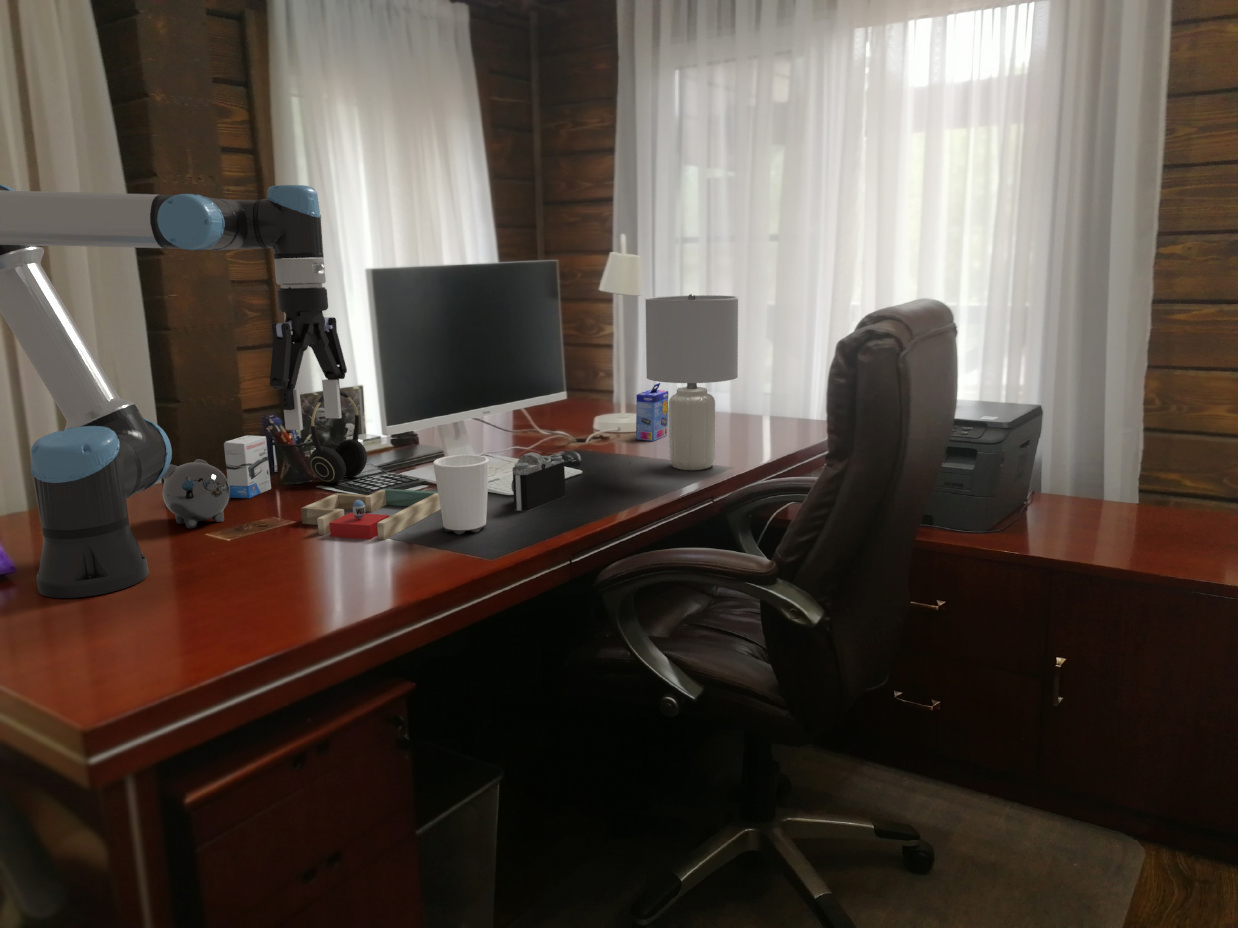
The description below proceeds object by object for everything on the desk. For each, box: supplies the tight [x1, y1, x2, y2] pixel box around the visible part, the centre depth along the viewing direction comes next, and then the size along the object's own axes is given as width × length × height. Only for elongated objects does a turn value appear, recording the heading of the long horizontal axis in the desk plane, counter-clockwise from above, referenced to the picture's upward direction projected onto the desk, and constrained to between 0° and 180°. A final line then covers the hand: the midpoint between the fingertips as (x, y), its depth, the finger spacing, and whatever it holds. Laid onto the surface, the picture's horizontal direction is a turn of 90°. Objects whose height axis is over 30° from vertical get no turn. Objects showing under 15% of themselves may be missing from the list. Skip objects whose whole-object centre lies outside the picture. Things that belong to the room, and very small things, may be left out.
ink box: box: [223, 435, 272, 499], centre depth 199 cm, size 8×5×12 cm, turn 168°
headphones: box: [309, 390, 368, 484], centre depth 208 cm, size 9×15×20 cm, turn 155°
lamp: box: [645, 293, 739, 471], centre depth 212 cm, size 20×20×39 cm
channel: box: [300, 488, 441, 541], centre depth 178 cm, size 22×21×3 cm
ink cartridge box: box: [635, 382, 669, 442], centre depth 249 cm, size 10×6×14 cm, turn 154°
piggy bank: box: [161, 458, 230, 530], centre depth 178 cm, size 11×15×12 cm
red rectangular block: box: [329, 500, 390, 540], centre depth 170 cm, size 8×7×6 cm
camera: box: [511, 452, 566, 512], centre depth 188 cm, size 15×7×10 cm, turn 148°
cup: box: [433, 454, 490, 535], centre depth 170 cm, size 10×10×13 cm
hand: (314, 423), depth 156 cm, fingers open, 10 cm apart
